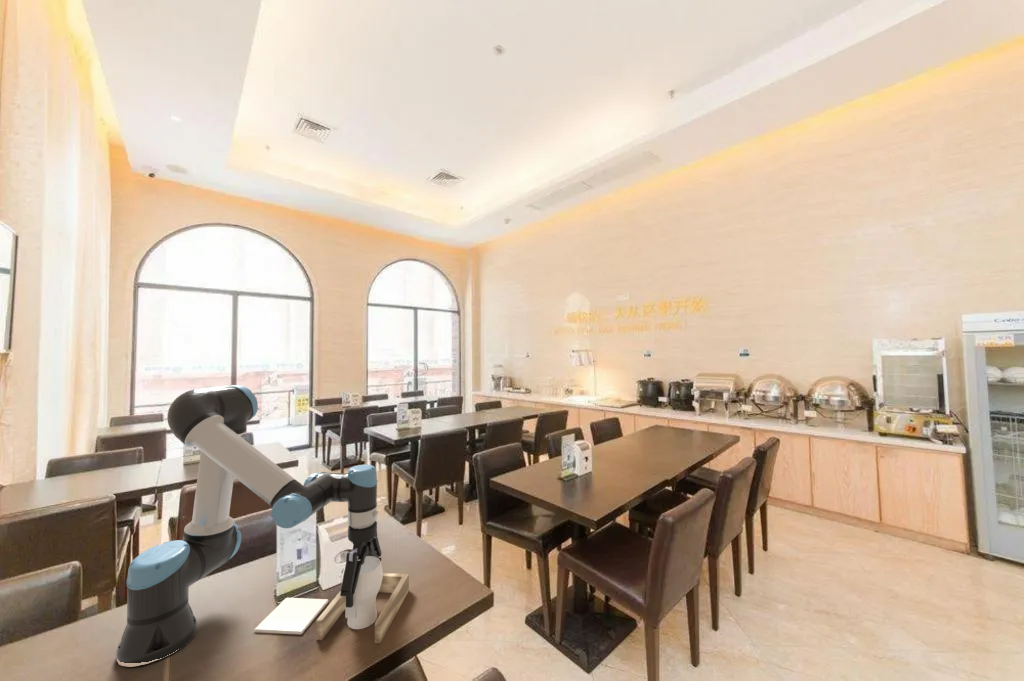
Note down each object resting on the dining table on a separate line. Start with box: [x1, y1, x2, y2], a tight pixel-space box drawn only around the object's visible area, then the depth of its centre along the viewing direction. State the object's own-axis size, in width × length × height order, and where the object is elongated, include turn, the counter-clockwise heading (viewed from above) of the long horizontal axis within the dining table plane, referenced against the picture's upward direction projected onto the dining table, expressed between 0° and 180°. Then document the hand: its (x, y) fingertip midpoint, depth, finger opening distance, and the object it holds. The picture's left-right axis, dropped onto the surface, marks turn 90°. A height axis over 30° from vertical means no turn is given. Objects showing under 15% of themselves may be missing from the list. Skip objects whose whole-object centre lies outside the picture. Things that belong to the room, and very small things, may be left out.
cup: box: [341, 556, 384, 630], centre depth 108 cm, size 11×11×15 cm
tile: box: [254, 597, 329, 635], centre depth 109 cm, size 13×13×1 cm
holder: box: [315, 572, 410, 644], centre depth 110 cm, size 17×22×5 cm
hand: (362, 600), depth 108 cm, fingers open, 12 cm apart
